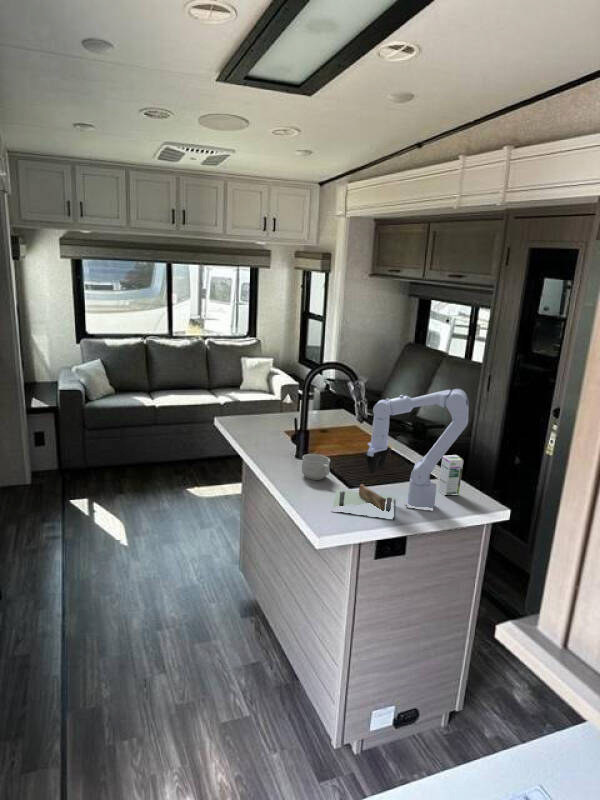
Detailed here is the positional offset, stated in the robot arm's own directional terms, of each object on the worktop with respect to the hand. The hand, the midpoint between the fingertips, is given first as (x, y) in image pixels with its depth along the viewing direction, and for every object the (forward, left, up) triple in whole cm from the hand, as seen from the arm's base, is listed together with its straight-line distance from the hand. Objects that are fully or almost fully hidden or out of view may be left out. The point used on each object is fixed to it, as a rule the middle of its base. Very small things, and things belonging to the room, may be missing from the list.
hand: (376, 469), depth 199 cm
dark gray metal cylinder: (+3, +13, -10) cm, 16 cm away
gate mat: (+3, +9, -10) cm, 14 cm away
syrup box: (-28, -12, -11) cm, 32 cm away
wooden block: (0, +8, -9) cm, 12 cm away
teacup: (+22, -9, -11) cm, 26 cm away
